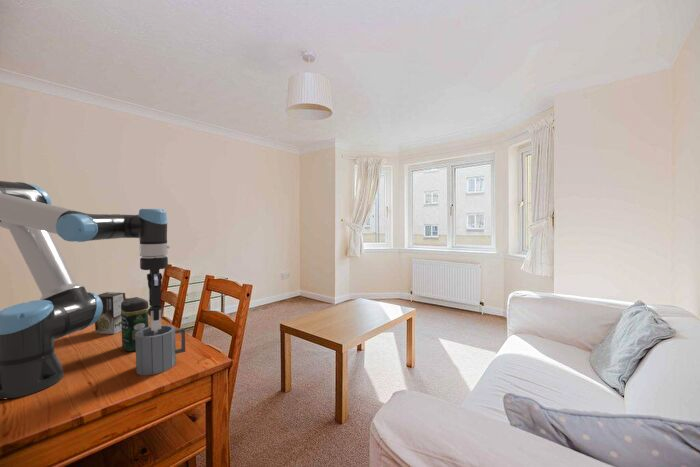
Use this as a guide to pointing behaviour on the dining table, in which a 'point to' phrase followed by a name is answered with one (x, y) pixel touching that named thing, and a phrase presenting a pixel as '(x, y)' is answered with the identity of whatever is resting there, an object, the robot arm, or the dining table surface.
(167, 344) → the grey ribbed mug
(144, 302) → the coffee jar
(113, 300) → the coffee box
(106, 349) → the dining table surface
